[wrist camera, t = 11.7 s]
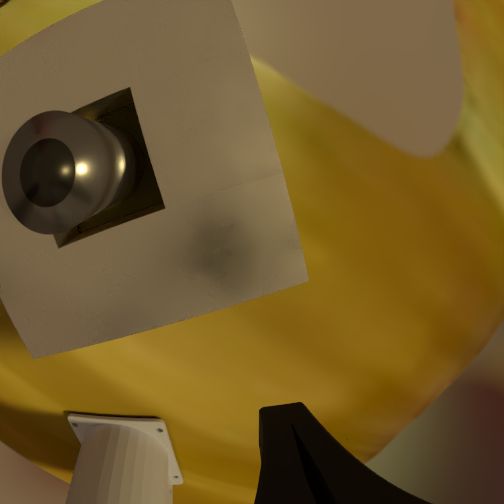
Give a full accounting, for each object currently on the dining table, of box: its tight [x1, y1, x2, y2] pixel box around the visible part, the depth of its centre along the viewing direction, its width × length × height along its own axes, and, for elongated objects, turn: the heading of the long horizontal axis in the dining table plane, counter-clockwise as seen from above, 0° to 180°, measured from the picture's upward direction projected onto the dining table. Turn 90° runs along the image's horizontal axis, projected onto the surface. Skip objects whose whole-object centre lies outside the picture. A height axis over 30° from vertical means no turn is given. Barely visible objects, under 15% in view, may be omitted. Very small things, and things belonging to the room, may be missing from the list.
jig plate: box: [0, 0, 309, 359], centre depth 13 cm, size 16×16×3 cm
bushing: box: [2, 110, 144, 235], centre depth 11 cm, size 4×4×7 cm
